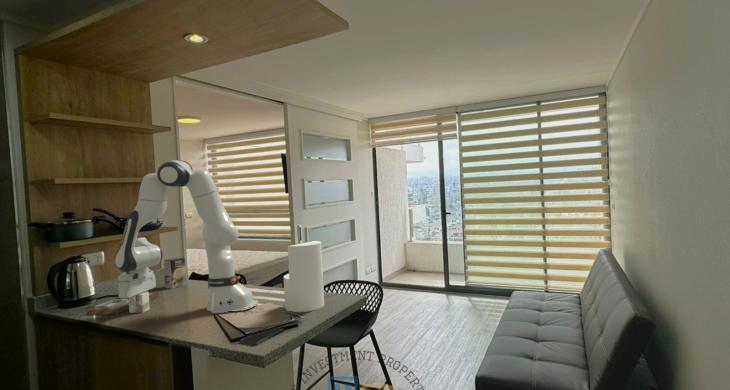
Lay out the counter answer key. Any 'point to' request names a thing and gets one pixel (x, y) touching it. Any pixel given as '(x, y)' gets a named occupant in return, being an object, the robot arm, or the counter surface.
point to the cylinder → (304, 278)
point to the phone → (261, 337)
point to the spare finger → (140, 303)
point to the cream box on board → (115, 306)
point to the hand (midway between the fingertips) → (139, 303)
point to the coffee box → (174, 273)
